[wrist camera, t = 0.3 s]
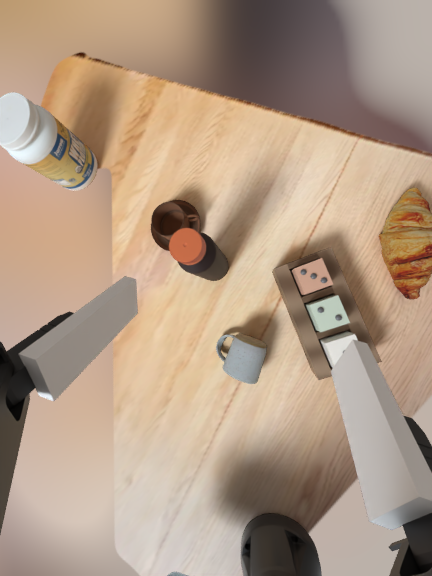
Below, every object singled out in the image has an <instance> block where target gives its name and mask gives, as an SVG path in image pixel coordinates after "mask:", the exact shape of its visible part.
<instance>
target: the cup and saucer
mask: <svg viewBox="0 0 432 576" xmlns="http://www.w3.org/2000/svg"><path fill="white" fill-rule="evenodd" d="M182 228H190V229H194V230H196V231H197V232H199V231H200V218H199V215H198V212H197V211H196V209H195V208H194V207H193V206H192V205H191V204H189V203H188V202H185V201H182V200H173V201H169V202H165V203H162V204H161V205H159V206H158V207H157V208H156V209H155V210H154V212H153V215H152V223H151V232H152V236H153V238H154V240H155V242H156V243H157V244H158V245H159V246H160V247H161V248H163V249H165V250H168V251H170V250H169V243H170V239H171V237H172V236H173V234H174V233H175V232H177V231H178V230H179V229H182Z"/></svg>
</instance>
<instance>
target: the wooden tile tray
mask: <svg viewBox="0 0 432 576" xmlns="http://www.w3.org/2000/svg"><path fill="white" fill-rule="evenodd" d="M321 258H322V259H323V261H324V264H325V266H326V268H327V271H328V273H329V275H330V278H331V280H332V282H333V285H330V286H328V287H325V288H322V289H319V290H316V291H314V292H311V293H308V294H305V295H301V293H300V291H299V289H298V286H297V284H296V281H295V279H294V277H293V274H292V272H291V271H292V270H293V269H294V268H297V267H300V266H302V265H305V264H307V263H310V262H313V261H315V260H318V259H321ZM272 273H273V275H274V278H275V280H276V283H277V285H278V288H279V290H280V293H281V295H282V298H283V300H284V303H285V305H286V308H287V310H288V312H289V315H290V317H291V320H292V322H293V325H294V327H295V330H296V332H297V335H298V337H299V340H300V342H301V345H302V347H303V350H304V352H305V355H306V357H307V360H308V362H309V365H310V367H311V370H312V372H313V373H314V374H315V376H316V377H317V378H318V380H320V379H324V378H327V377H331V376H332V374H331V370H332V369H333V368H332V367H331V366H330V364H329V361H328V359H327V356H326V354H325V352H324V349H323V347H322V344H321V342H320V339H323V338H326V337H329V336H332V335H335V334H339V333H342V332H345V331H348V332H351V333H353V334H355V335H356V337H357V340H358V341H360V342H364V343H367V344H368V346H369V348H370V350H371V352H372V354H373V356H374V358H375V360H376V362H377V363H379V362H382V361H381V359H380V357H379V355H378V352H377V350H376V348H375V346H374V343H373V341H372V339H371V337H370V334H369V332H368V330H367V327H366V325H365V323H364V321H363V318H362V316H361V314H360V312H359V309H358V307H357V305H356V303H355V300H354V298H353V296H352V293H351V291H350V289H349V287H348V284H347V282H346V280H345V278H344V275H343V273H342V271H341V269H340V266H339V264H338V262H337V259H336V257H335V255H334V253H333V250H332V248H331V247H329V248H327V249H324V250H322V251H319V252H317V253H314V254H311V255H309V256H306V257H304V258H301V259H298V260H296V261H293V262H291V263H288V264H285V265H283V266H280V267H278V268H275V269H274V270H273V272H272ZM331 295H338V296H339V298H340V301H341V303H342V305H343V308H344V310H345V312H346V314H347V317H348V319H349V321H350V323H348V324H345V325H342V326H339V327H336V328H333V329H329V330H326V331H323V332H319V331H317V330H315V327H314V325H313V323H312V320H311V318H310V315H309V313H308V310H307V308H306V306H305V304H308V303H311V302H314V301H317V300H320V299H323V298H326V297H328V296H331Z"/></svg>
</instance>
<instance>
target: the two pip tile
mask: <svg viewBox="0 0 432 576" xmlns="http://www.w3.org/2000/svg"><path fill="white" fill-rule="evenodd" d="M305 306H306V308H307V310H308V313H309V315H310V318H311V320H312V323H313V325H314V327H315V330H317V331H319V332H323V331H326V330H329V329H333V328H336V327H339V326H342V325H345V324H348V323H350V321H349V319H348V317H347V314H346V312H345V310H344V308H343V305H342V303H341V301H340V298H339V296H338V295H331V296H328V297H326V298H323V299H320V300H317V301H314V302H311V303H308V304H305Z"/></svg>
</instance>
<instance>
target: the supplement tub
mask: <svg viewBox="0 0 432 576" xmlns="http://www.w3.org/2000/svg"><path fill="white" fill-rule="evenodd" d="M0 145H1V146H2V147H3V148H5V149H6V150H7V151H8V152H9V154H10V155H11V156H12V157H13V158H15V159H16V160H17V161H19V162H21V163H23V164H25V165H26V166H28V167H30V168H32V169H33V170H35V171H37V172H38V173H40V174H42V175H44V176H45V177H47V178H49V179H50V180H52V181H54V182H56V183H57V184H59V185H61V186H62V187H64V188H66V189H69V190H74V191H75V190H82V189H84V188H86V187H87V186H88V185H89V184H90V183H91V182H92V181H93V180H94V178H95V176H96V172H97V167H98V164H97V159H96V157H95V155H94V153H93V152H92V151H91V149H90V148H88V147H87V146H86V145H85V144H84V143H83V142H81V141H80V140H79V139H78V138H77V137H76V136H75V135H74V134H73V133H72V132H70V131H69V130H68V129H67V128H66V127H65V126H64V125H63V124H62V123H60V122H59V121H58V120H57V119H56V118H55V117H54V116H53V115H51V113H50V112H48V111H47V110H46V109H44V108H43V107H41V106H38V105H35V104H33V103H32V102H31V101H29V100H28V99H26V98H25V97H24V96H23V95H21V94H19V93H8V94H5V95H3V96H2V97H0Z"/></svg>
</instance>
